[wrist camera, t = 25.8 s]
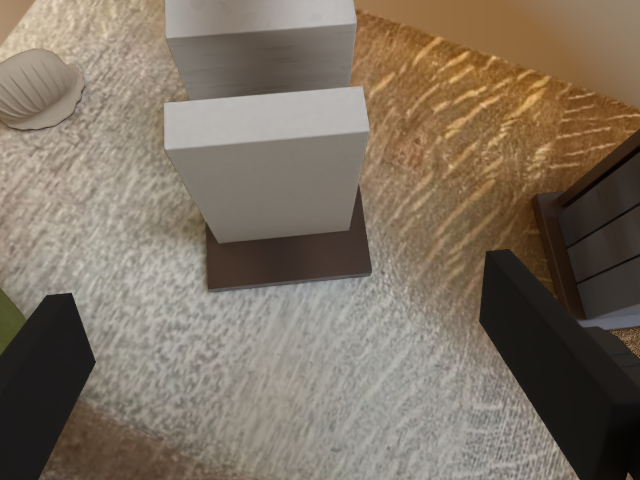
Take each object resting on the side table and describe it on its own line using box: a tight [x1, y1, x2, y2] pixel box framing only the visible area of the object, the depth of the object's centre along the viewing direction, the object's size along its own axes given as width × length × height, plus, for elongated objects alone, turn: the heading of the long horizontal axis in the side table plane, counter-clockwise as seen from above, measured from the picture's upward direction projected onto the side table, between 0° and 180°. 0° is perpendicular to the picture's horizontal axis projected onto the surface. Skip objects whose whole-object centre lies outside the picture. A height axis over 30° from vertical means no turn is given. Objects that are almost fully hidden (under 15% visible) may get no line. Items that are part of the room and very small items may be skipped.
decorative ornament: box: [0, 49, 85, 130], centre depth 35 cm, size 4×8×5 cm, turn 126°
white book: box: [163, 86, 370, 243], centre depth 28 cm, size 9×2×13 cm, turn 96°
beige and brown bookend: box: [165, 0, 372, 292], centre depth 29 cm, size 11×15×14 cm
